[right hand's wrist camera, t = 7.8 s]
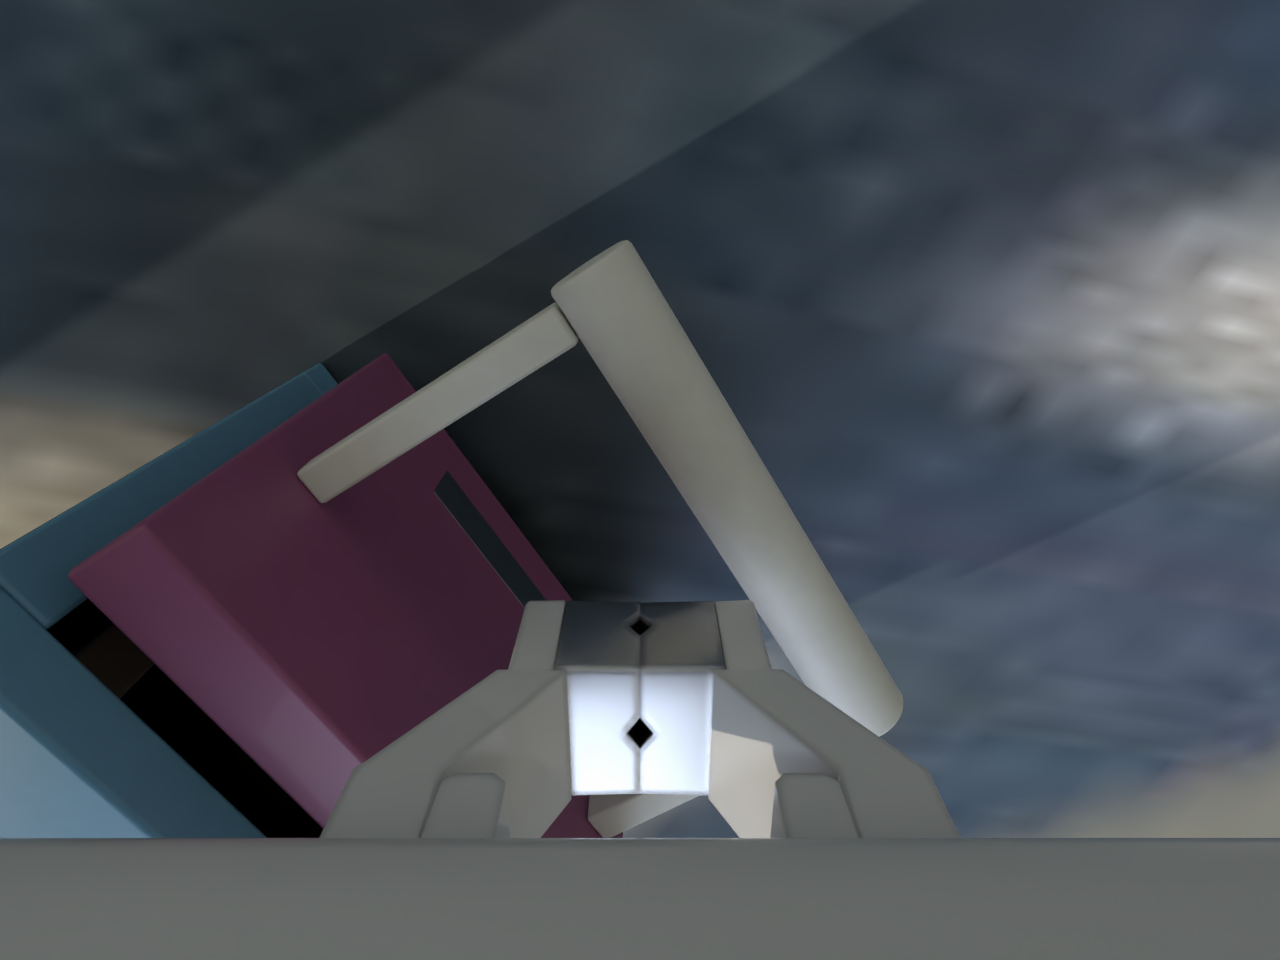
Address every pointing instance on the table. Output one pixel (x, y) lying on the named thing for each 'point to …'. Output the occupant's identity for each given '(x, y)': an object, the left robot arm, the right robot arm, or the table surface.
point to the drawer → (423, 567)
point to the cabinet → (73, 696)
